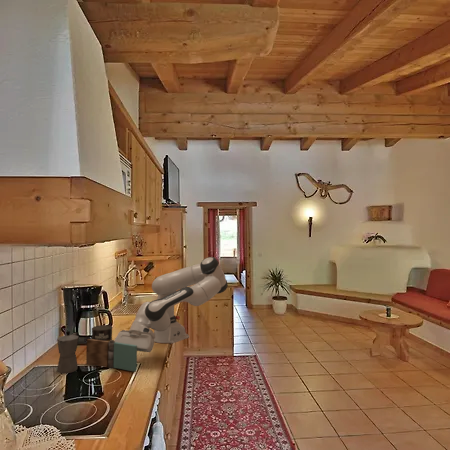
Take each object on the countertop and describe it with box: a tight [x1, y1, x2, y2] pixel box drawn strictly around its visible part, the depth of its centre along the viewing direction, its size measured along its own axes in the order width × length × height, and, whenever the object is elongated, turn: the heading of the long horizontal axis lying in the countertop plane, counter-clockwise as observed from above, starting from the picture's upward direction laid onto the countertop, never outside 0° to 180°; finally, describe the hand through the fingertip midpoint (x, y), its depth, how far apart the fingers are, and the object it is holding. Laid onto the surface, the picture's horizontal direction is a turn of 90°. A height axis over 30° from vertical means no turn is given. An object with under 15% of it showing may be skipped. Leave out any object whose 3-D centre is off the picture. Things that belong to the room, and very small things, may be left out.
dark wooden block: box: [85, 338, 115, 369], centre depth 175 cm, size 15×3×13 cm, turn 73°
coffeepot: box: [56, 330, 80, 375], centre depth 170 cm, size 15×9×18 cm, turn 171°
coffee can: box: [91, 324, 113, 341], centre depth 190 cm, size 10×10×14 cm
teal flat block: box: [108, 342, 138, 372], centre depth 170 cm, size 15×3×12 cm, turn 68°
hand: (127, 358), depth 171 cm, fingers closed, pressing on teal flat block
